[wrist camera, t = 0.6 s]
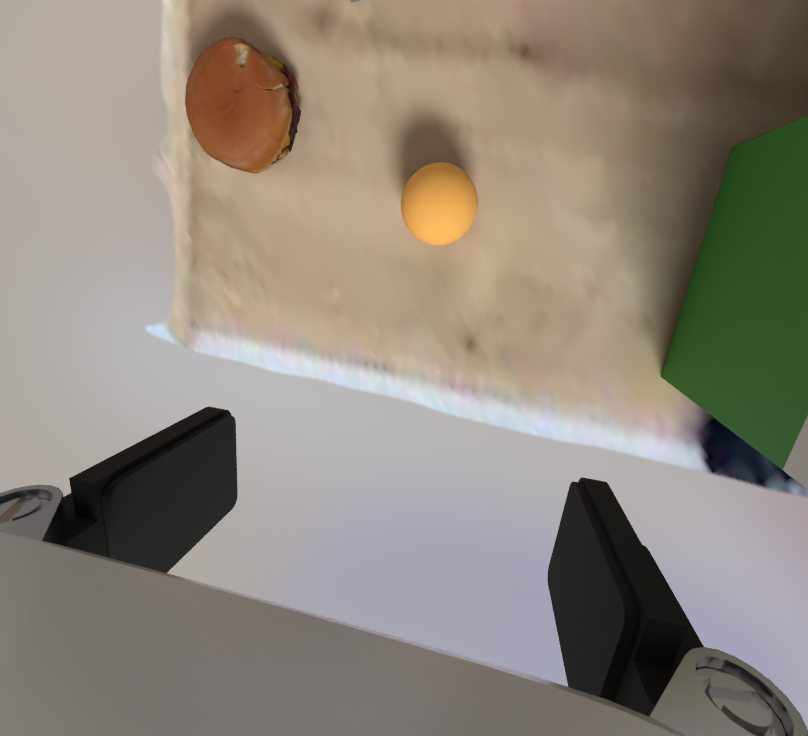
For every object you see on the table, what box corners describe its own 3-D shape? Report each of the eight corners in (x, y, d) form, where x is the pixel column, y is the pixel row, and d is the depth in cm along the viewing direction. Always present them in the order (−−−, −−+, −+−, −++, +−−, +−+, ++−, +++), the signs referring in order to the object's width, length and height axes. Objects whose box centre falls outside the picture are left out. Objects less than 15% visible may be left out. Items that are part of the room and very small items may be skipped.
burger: (210, 168, 37) (172, 157, 32) (209, 52, 34) (168, 22, 29) (304, 183, 35) (278, 174, 31) (313, 63, 32) (285, 34, 28)
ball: (406, 176, 33) (388, 161, 27) (476, 164, 31) (473, 146, 26) (413, 249, 35) (397, 249, 29) (480, 241, 33) (478, 239, 27)
